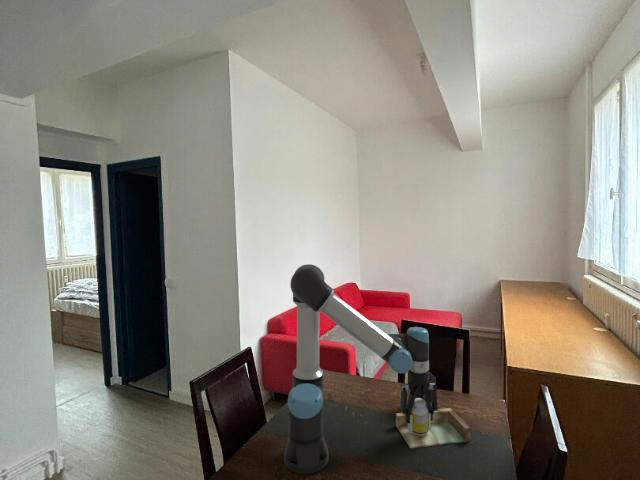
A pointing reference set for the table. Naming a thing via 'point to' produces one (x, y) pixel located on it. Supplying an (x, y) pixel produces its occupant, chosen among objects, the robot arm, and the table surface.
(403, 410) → the robot arm
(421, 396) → the coffee cup
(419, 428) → the pill bottle
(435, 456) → the table surface
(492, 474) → the table surface
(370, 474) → the table surface
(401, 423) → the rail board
